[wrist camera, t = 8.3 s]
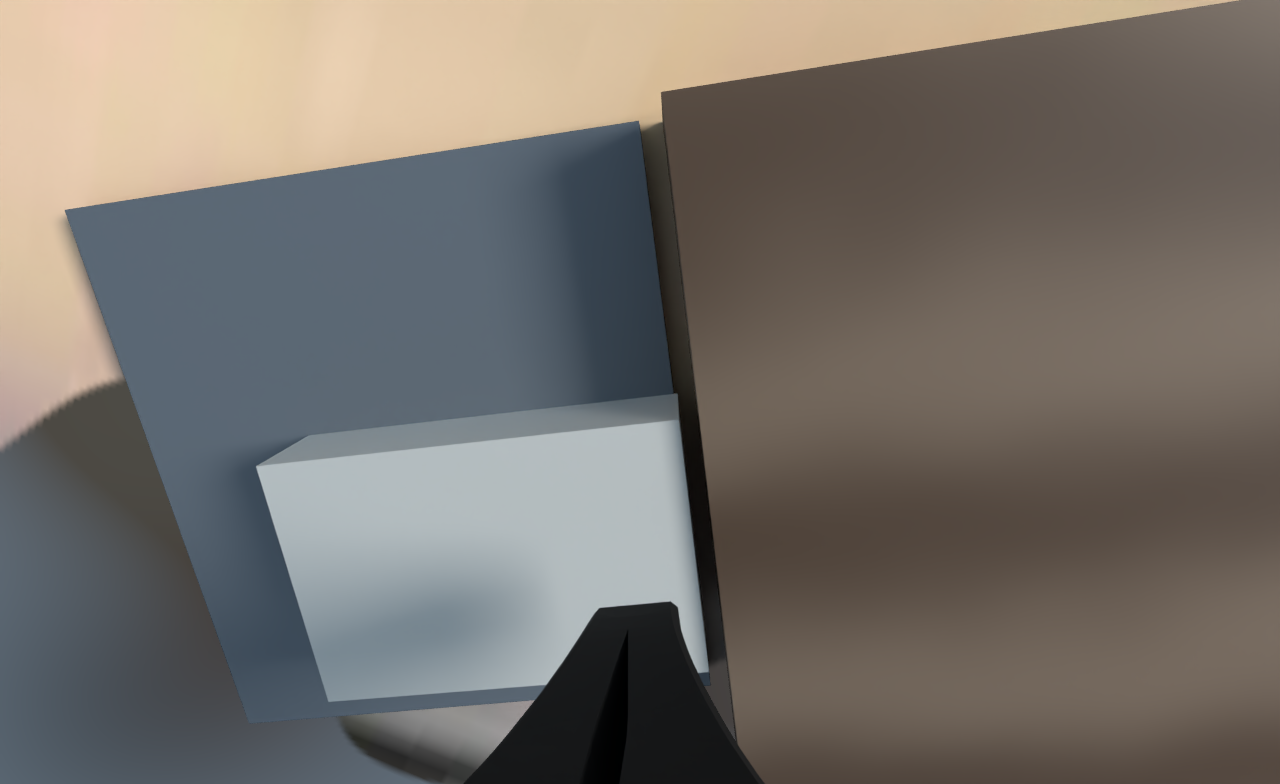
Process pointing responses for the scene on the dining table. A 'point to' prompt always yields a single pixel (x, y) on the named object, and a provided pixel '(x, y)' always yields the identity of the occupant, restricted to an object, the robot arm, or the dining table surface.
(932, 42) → the dining table surface
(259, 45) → the dining table surface
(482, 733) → the dining table surface
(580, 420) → the pale grey flat block
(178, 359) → the mat
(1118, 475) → the deck
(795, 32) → the dining table surface
